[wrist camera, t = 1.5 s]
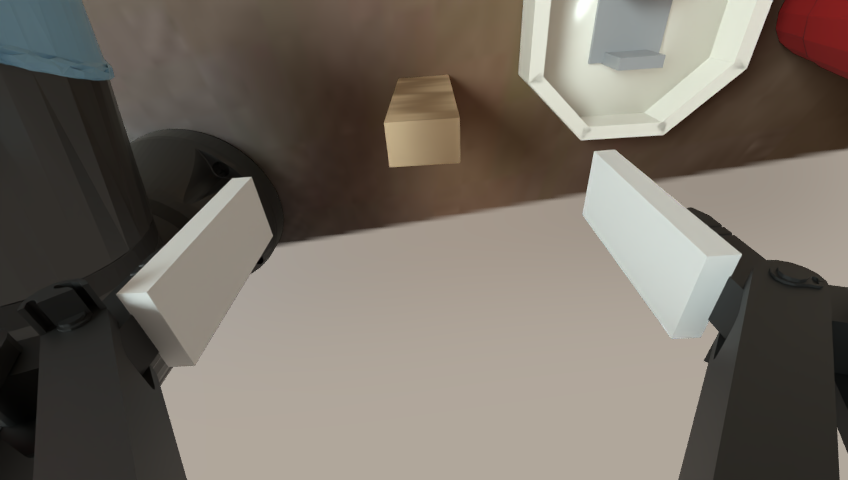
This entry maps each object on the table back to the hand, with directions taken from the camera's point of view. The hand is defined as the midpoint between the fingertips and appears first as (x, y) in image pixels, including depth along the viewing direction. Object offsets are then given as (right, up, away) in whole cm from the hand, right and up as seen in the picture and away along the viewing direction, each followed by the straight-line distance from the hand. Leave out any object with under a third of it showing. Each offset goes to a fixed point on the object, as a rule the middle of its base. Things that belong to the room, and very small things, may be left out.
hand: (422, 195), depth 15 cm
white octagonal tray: (+15, +14, +13) cm, 24 cm away
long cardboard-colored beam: (0, +10, +15) cm, 19 cm away
